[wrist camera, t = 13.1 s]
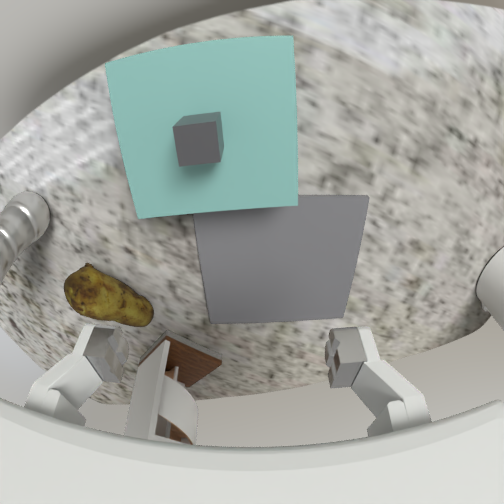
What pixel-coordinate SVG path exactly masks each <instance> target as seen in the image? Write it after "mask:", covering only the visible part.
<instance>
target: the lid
mask: <svg viewBox="0 0 504 504" xmlns="http://www.w3.org/2000/svg"><path fill="white" fill-rule="evenodd" d="M105 68H106V75H107V81H108V87H109V93H110V99H111V105H112V110H113V115H114V121H115V126H116V131H117V135H118V140H119V145H120V149H121V154H122V158H123V162H124V166H125V171H126V175H127V179H128V183H129V186H130V190H131V194H132V198H133V202H134V205H135V209H136V212H137V216H138V219H143V218H152V217H162V216H171V215H181V214H192V213H203V212H214V211H226V210H239V209H252V208H267V207H282V206H298V143H297V105H296V80H295V60H294V43H293V36H259V37H243V38H231V39H221V40H213V41H205V42H198V43H191V44H185V45H179V46H174V47H168V48H163V49H159V50H154V51H150V52H145V53H141V54H137V55H133V56H129V57H126V58H122V59H118V60H115V61H111V62H108V63H105Z"/></svg>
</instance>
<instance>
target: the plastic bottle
mask: <svg viewBox="0 0 504 504" xmlns="http://www.w3.org/2000/svg"><path fill="white" fill-rule="evenodd" d="M49 222H50V212H49V208H48V205H47V203H46V202H45V200H44V199H43V198H42V197H41V196H40V195H38V194H37V193H34V192H29V191H24V192H21V193H19V194H17V195H16V196H14V197H13V198H12V199H11V200H10V201H9V202H8V204H7V205H6V206H5V208H4V210H3V211H2V212H1V213H0V285H1V283H2V281H3V279H4V277H5V275H6V273H7V272H8V270H9V269H10V267H11V266H12V264H13V263H14V262H15V260H16V259H17V257H18V256H19V255H20V254H21V253H22V252H23V251H24V250H25V249H26V248H27V247H28V246H29V245H30V244H32V243H33V242H35V241H36V240H37V239H39V238H40V237H41V236H42V235H43V234H44V232H45V230H46V229H47V227H48V225H49Z"/></svg>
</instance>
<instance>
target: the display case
mask: <svg viewBox="0 0 504 504" xmlns="http://www.w3.org/2000/svg"><path fill="white" fill-rule="evenodd" d="M221 364H222V355H221V354H219V353H217V352H214V351H212V350H210V349H208V348H205V347H203V346H201V345H199V344H197V343H194V342H192V341H190V340H188V339H186V338H184V337H182V336H180V335H177V334H175V333H173V332H171V331H169V330H167V331H166V332H165V333H164V334H163V335H162V336H161V337H160V338H159V339H158V340H157V341H156V342H155V343H154V344H153V345H152V346H151V347H150V348H149V350H148V351H147V352H146V353H145V354H144V355H143V356H142V357H141V358H140V362H139V366H138V371H137V375H136V379H135V384H134V388H133V393H132V397H131V402H130V407H129V412H128V417H127V422H126V427H125V433H124V435H125V436H130V437H136V438H142V439H148V440H155V441H162V442H170V443H179V444H190V445H196V436H197V423H198V407H197V405H196V402H195V400H194V399H193V397H192V396H191V394H190V393H189V392H188V391H187V390H186V389H185V387H190V386H191V385H193V384H194V383H196V382H197V381H199V380H200V379H201V378H203V377H204V376H206V375H207V374H209V373H210V372H212V371H213V370H214V369H216V368H217V367H219V366H220V365H221Z"/></svg>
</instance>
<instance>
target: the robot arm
mask: <svg viewBox="0 0 504 504" xmlns="http://www.w3.org/2000/svg"><path fill="white" fill-rule="evenodd" d="M476 293H477V297H478V298H479V299H480V300H481V302H482V309H483V310H484V311H485V312H486V311H489V312H490V314H491V315H492V316H493V318H494V319H495V320H496V322H497V323H498V324H499V325H500V327H501V328H502V329H503V330H504V247H503V248H502V249H501V250H500V251H499V252H497V254H496V255H495V256H494V257H493V258H492V259H491V260H490V262H489V263H488V264H487V266H486V267H485V269H484V270H483V272H482V274H481V276H480V278H479V281H478V284H477V289H476ZM122 333H123V332H122V330H121V328H120V327H116V326H107V325H99V324H90V323H87V324H86V325H84V327H83V329H82V331H81V334H80V336H79V338H78V341H77V343H76V345H75V348H74V350H73V352H72V354H70V353H69V354H68V355H67V356H65V357H64V358H63V359H62V360H61V361H59V362H58V363H57V364H56V365H54V366H53V367H52V368H51V369H50V370H48V371H47V372H46V373H45V374H44V375H42V376H41V377H40V378H39V379H38V380H36V381H35V382H34V383H33V385H32V388H31V390H30V393H29V395H28V398H27V401H26V404H25V406H24V407H22V406H19V405H17V404H14V403H12V402H9V401H7V400H4V399H2V398H0V504H504V402H503V401H501V400H494V401H491V402H489V403H486V404H484V405H481V406H479V407H476V408H473V409H471V410H468V411H465V412H463V413H459V414H456V415H453V416H451V417H448V418H444V419H441V420H437V421H434V422H432V421H431V418H430V414H429V411H428V408H427V404H426V401H425V398H424V395H423V394H422V393H421V392H420V391H419V390H418V389H417V388H416V387H414V386H413V385H412V384H411V383H410V382H409V381H408V380H407V379H405V378H404V377H403V376H402V375H401V374H400V373H399V372H397V371H396V370H395V369H394V368H393V367H392V366H391V365H389V364H388V363H387V362H386V361H385V360H380V357H379V354H378V350H377V347H376V344H375V341H374V338H373V335H372V332H371V329H370V327H369V326H363V327H347V328H335V329H331V330H330V332H329V339H330V340H328V341H327V342H326V346H325V360H326V365H327V366H328V367H329V368H330V369H329V372H328V378H329V383H330V388H342V387H351V389H352V390H353V391H354V392H355V393H356V394H357V395H358V397H359V398H360V399H361V400H362V401H363V403H364V404H365V405H366V406H367V407H368V408H369V410H370V411H371V412H372V413H373V414H374V415H375V416H376V419H375V421H374V422H373V423H372V424H371V426H370V427H369V428H368V429H367V432H368V437H365V438H359V439H353V440H346V441H338V442H330V443H321V444H311V445H299V446H281V447H219V446H202V445H201V446H200V445H190V444H179V443H170V442H162V441H155V440H148V439H142V438H136V437H130V436H125V435H120V434H115V433H110V432H105V431H101V430H96V429H92V428H88V427H84V426H85V422H86V419H85V417H84V416H83V415H82V414H81V413H80V412H79V411H78V409H79V408H80V407H81V406H82V404H84V403H85V401H86V400H87V399H88V398H89V397H90V396H91V395H92V394H93V393H94V391H95V390H96V389H97V388H98V387H99V386H100V385H101V384H102V383H103V381H108V382H116V383H121V380H122V376H123V373H124V368H123V364H124V363H125V362H126V361H127V359H128V355H129V346H128V342H127V340H126V339H125V338H124V337H122Z"/></svg>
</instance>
